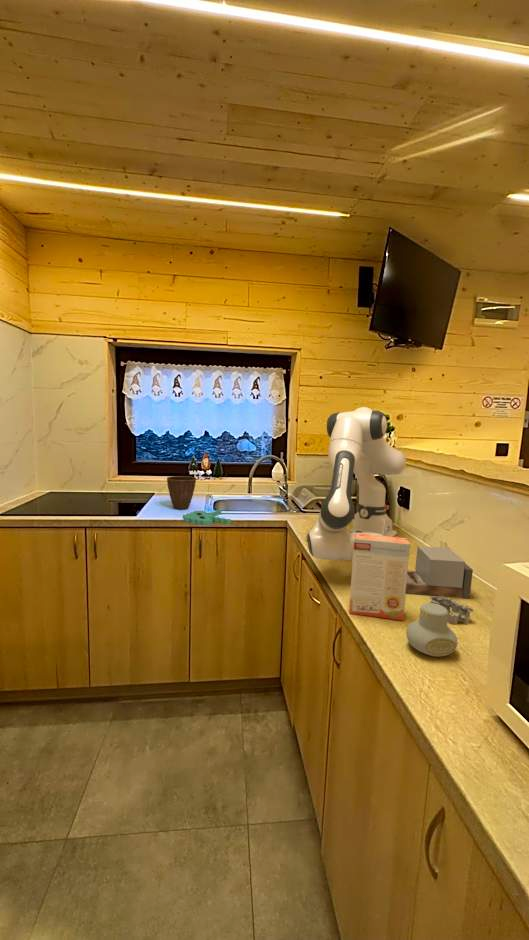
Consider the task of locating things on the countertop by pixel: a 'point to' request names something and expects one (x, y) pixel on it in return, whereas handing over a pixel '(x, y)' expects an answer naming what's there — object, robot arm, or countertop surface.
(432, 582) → the grey cardboard box
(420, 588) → the roller bed
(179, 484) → the plant pot
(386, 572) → the cracker box
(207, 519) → the alien figure
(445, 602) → the egg carton
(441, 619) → the air freshener
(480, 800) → the countertop surface
